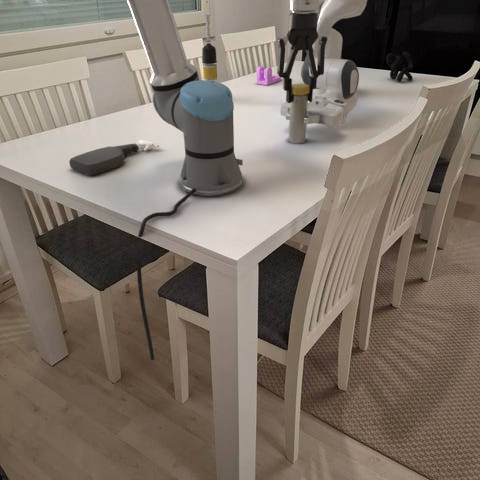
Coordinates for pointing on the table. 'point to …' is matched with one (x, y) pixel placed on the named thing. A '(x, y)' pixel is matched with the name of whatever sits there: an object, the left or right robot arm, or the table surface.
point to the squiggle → (399, 66)
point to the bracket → (266, 76)
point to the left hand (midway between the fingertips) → (299, 101)
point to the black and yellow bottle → (209, 57)
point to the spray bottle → (106, 157)
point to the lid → (300, 89)
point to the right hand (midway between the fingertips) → (296, 119)
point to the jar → (298, 118)
